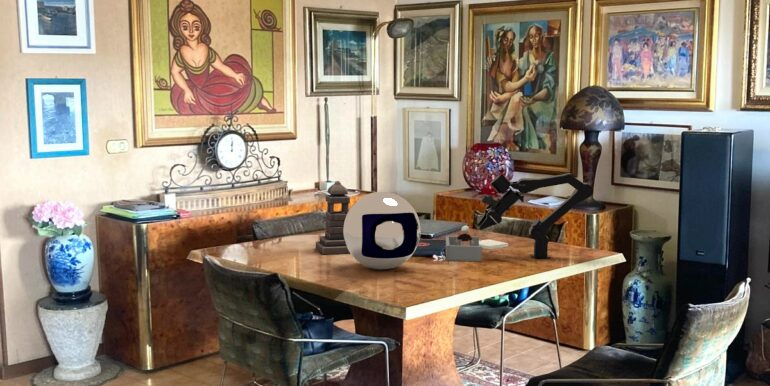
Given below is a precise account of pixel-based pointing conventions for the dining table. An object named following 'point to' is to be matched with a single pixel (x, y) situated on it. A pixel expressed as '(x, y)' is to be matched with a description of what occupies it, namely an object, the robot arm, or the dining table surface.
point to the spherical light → (381, 230)
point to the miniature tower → (335, 222)
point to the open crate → (463, 250)
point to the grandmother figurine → (465, 237)
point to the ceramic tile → (492, 244)
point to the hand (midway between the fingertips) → (478, 227)
